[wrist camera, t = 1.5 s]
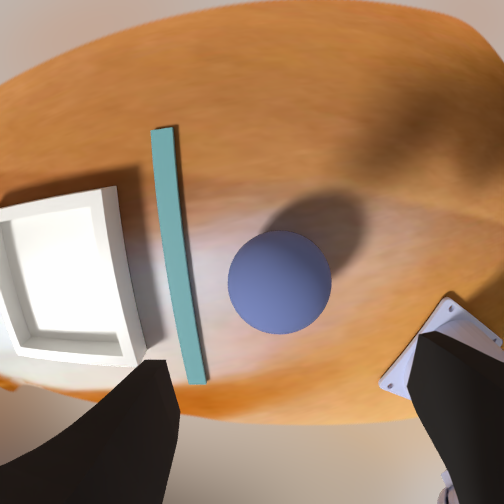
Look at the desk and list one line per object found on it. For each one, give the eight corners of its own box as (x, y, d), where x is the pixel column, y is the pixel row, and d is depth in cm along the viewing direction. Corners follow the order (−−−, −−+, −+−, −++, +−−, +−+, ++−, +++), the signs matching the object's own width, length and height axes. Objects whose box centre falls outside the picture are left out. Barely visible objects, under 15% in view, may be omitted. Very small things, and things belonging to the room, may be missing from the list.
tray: (116, 185, 16) (101, 189, 14) (147, 349, 19) (138, 367, 17) (-5, 209, 17) (-23, 214, 15) (30, 342, 20) (17, 355, 18)
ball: (336, 250, 17) (365, 283, 13) (289, 319, 19) (300, 369, 14) (260, 204, 17) (263, 222, 12) (215, 280, 18) (202, 323, 13)
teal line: (206, 381, 20) (206, 384, 20) (189, 381, 20) (188, 384, 20) (173, 127, 16) (171, 127, 15) (152, 130, 16) (150, 130, 15)
